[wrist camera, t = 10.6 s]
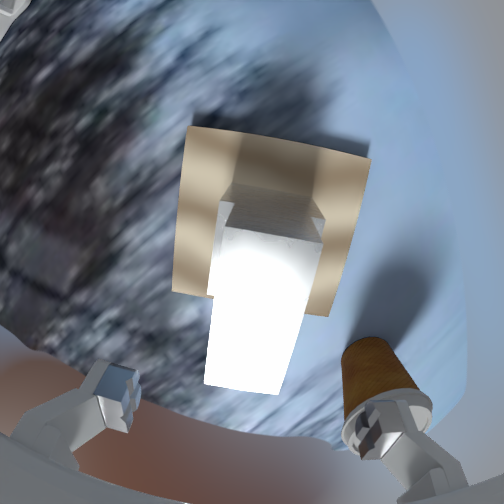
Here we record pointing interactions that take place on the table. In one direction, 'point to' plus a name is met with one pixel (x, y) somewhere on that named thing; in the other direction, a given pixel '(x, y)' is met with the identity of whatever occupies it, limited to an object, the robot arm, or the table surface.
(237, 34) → the table surface
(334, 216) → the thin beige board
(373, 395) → the disposable coffee cup
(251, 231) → the grey stepped block
